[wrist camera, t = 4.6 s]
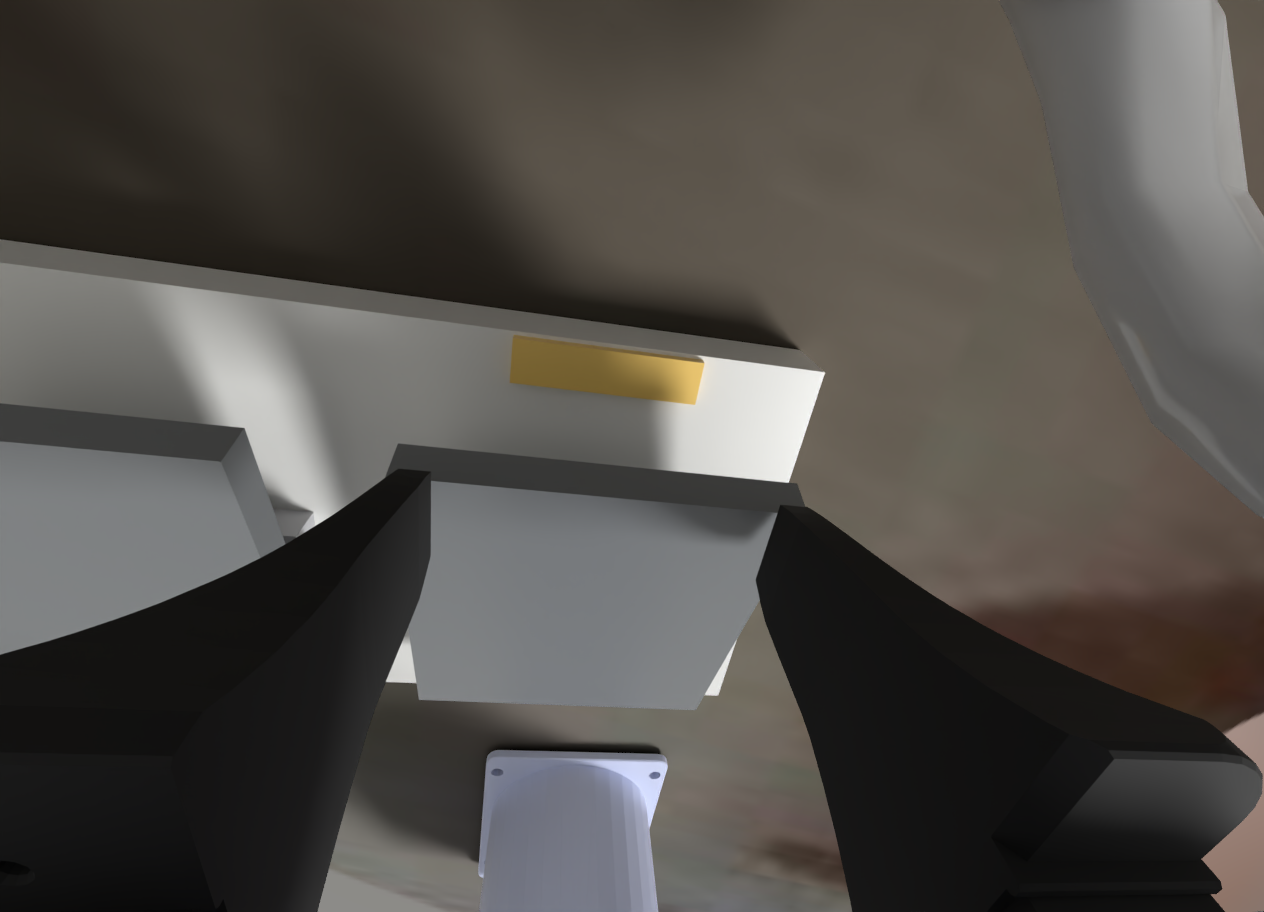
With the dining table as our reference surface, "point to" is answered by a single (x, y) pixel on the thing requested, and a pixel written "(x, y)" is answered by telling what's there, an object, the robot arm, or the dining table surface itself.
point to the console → (385, 378)
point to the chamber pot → (1160, 212)
